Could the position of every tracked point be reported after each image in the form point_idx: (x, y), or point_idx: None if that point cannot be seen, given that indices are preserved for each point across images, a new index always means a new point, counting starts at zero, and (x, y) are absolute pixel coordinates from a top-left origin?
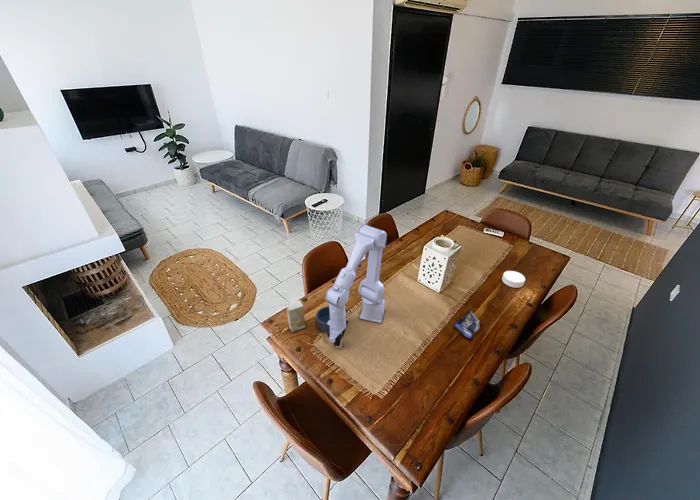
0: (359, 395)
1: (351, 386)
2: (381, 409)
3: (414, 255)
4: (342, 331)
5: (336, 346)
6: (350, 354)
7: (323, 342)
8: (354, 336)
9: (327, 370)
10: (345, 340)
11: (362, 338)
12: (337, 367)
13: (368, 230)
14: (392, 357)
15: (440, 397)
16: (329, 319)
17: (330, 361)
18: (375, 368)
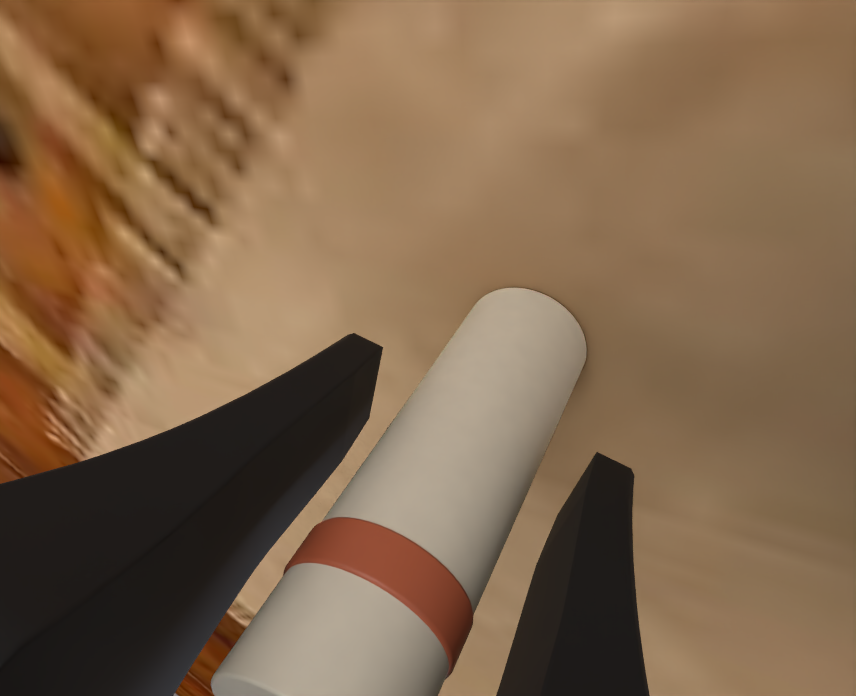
0: (28, 379)
1: (56, 344)
2: (26, 463)
3: None
4: (509, 671)
5: (474, 309)
6: (378, 435)
7: (643, 14)
8: (702, 578)
9: (84, 113)
10: (635, 452)
11: (640, 630)
12: (170, 252)
13: None
14: None
15: (203, 684)
16: None
17: (219, 166)
18: (271, 555)
